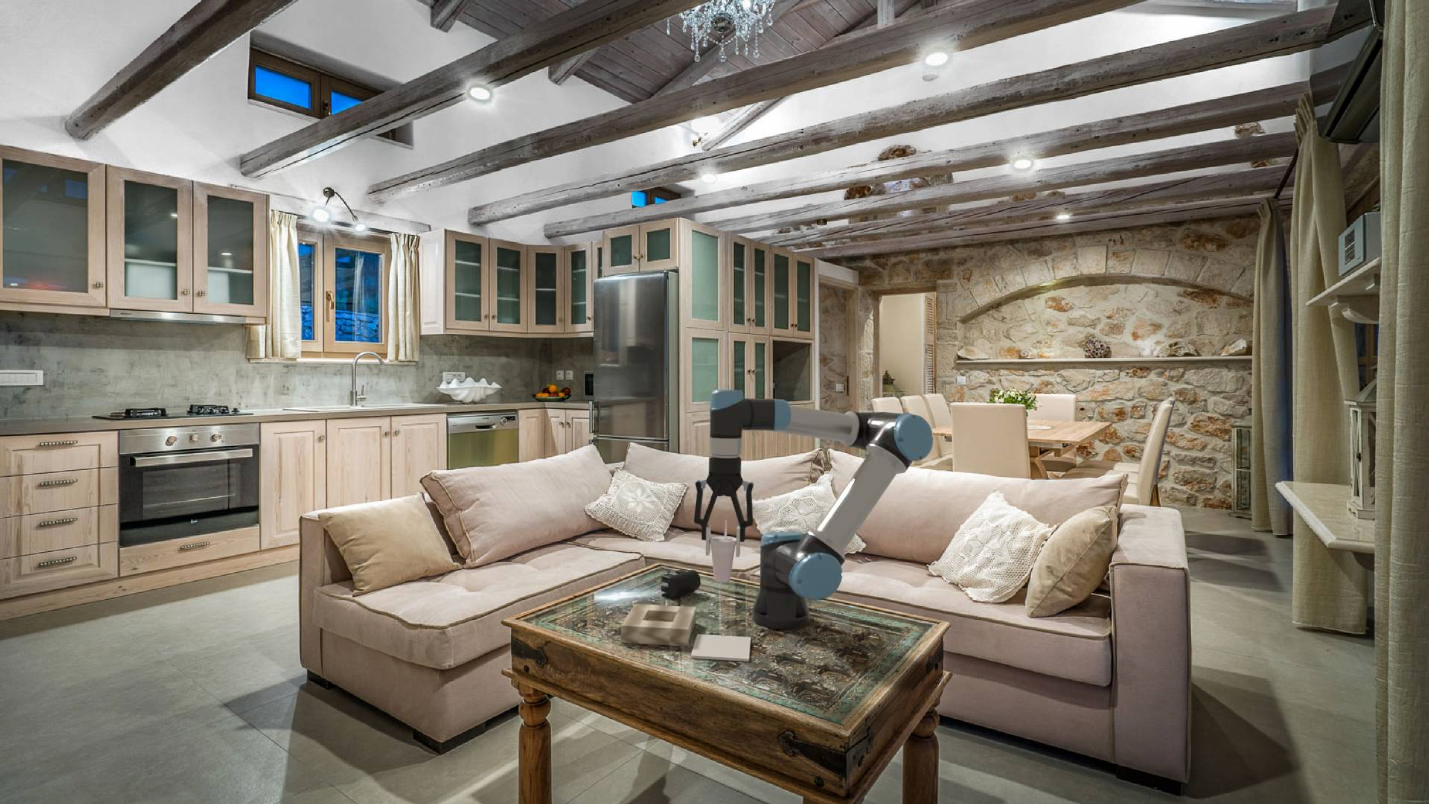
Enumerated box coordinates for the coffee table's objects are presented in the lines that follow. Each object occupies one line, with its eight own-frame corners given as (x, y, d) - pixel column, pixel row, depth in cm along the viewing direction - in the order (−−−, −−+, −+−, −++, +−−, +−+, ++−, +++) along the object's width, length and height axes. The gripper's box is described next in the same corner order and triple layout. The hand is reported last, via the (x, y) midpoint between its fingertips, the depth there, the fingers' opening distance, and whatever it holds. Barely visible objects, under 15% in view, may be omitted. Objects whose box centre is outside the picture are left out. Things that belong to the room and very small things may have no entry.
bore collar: (695, 622, 169) (695, 607, 169) (687, 646, 153) (688, 629, 153) (634, 619, 170) (634, 603, 170) (620, 642, 154) (620, 625, 154)
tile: (750, 639, 158) (750, 637, 158) (748, 661, 145) (749, 658, 145) (697, 636, 159) (697, 634, 159) (690, 658, 146) (690, 655, 146)
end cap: (677, 602, 185) (677, 578, 185) (659, 596, 190) (660, 573, 190) (700, 594, 193) (701, 571, 192) (683, 589, 197) (683, 567, 197)
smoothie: (739, 583, 150) (741, 522, 150) (712, 584, 148) (714, 523, 148) (731, 575, 156) (732, 517, 156) (705, 577, 154) (706, 518, 154)
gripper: (767, 455, 154) (764, 552, 155) (686, 453, 156) (684, 549, 157) (766, 458, 147) (763, 561, 147) (681, 456, 149) (679, 556, 149)
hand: (722, 554), depth 152 cm, fingers closed on smoothie, 6 cm apart
